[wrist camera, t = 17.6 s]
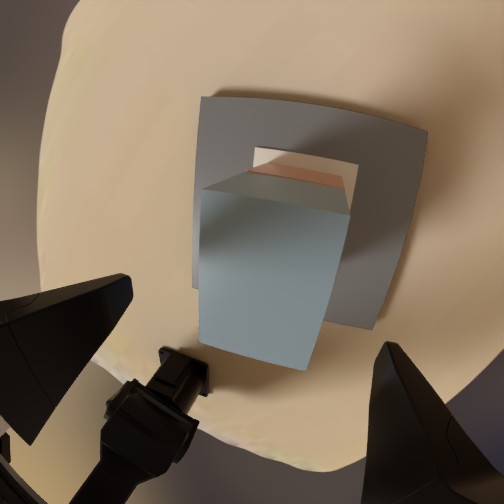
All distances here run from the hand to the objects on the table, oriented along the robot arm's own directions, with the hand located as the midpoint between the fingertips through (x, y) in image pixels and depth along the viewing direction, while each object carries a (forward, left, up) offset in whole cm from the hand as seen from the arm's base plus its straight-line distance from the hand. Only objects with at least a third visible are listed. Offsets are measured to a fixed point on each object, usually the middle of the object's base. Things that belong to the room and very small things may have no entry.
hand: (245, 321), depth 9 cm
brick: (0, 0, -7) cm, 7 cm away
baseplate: (0, 0, -13) cm, 13 cm away
